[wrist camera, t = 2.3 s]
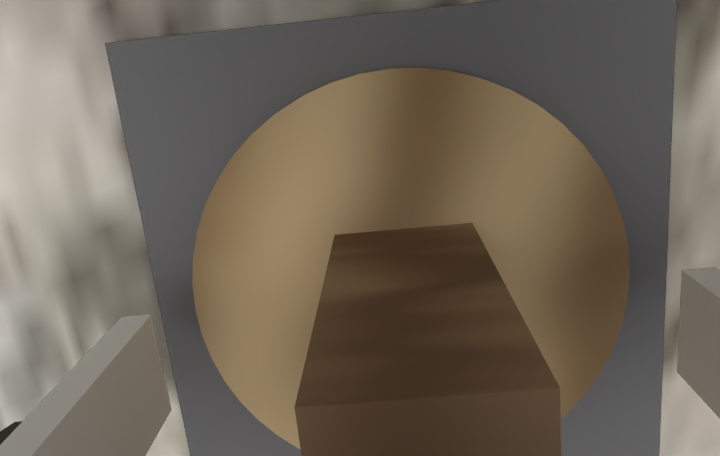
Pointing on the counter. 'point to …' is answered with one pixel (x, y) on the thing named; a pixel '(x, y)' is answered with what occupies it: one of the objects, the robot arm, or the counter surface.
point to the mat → (404, 50)
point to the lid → (411, 269)
